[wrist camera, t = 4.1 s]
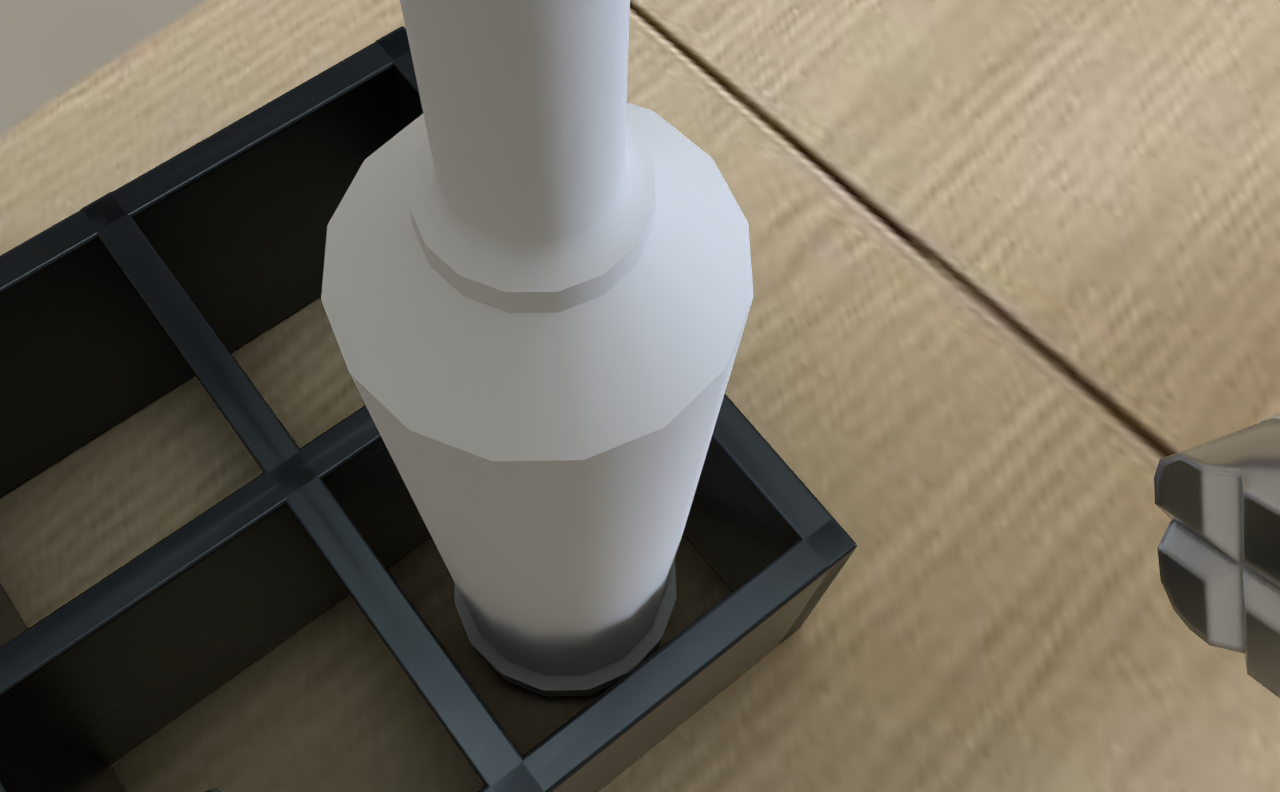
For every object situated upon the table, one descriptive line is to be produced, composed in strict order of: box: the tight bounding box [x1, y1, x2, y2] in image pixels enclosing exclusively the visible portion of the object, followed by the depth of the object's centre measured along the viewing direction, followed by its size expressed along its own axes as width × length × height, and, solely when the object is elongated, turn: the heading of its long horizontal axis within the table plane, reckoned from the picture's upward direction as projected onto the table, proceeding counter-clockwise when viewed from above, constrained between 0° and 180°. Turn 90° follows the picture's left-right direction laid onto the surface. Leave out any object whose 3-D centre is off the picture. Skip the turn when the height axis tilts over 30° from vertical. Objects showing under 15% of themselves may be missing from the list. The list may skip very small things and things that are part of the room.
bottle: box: [321, 0, 754, 696], centre depth 18 cm, size 5×5×25 cm
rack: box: [0, 26, 857, 792], centre depth 27 cm, size 15×15×7 cm
